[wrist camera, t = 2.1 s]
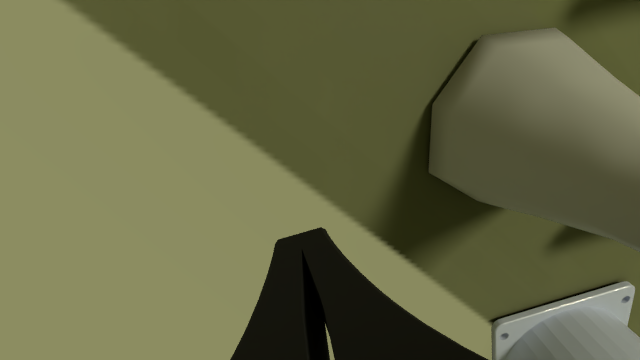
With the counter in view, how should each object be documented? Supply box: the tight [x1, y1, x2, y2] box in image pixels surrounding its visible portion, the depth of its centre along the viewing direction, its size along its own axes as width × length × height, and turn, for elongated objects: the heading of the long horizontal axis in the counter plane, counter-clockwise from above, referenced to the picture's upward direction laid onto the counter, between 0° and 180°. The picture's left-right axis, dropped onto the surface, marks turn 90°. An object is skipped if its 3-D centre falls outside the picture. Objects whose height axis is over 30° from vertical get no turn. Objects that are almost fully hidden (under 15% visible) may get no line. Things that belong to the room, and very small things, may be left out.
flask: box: [429, 28, 640, 252], centre depth 11 cm, size 7×7×10 cm
